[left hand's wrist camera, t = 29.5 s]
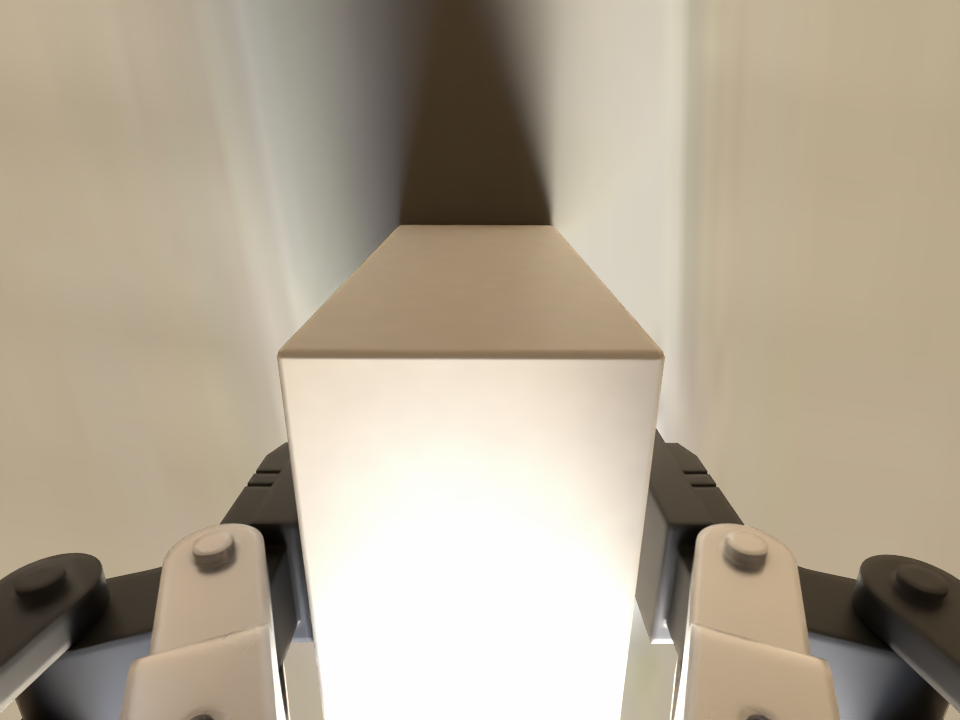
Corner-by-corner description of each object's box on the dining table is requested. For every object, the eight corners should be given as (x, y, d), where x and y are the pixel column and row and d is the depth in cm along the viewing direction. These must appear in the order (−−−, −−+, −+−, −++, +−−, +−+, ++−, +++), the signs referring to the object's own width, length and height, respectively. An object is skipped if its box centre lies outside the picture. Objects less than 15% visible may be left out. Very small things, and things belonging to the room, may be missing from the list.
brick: (554, 224, 16) (668, 352, 6) (542, 484, 19) (607, 841, 9) (397, 224, 16) (272, 350, 6) (409, 484, 19) (337, 840, 9)
